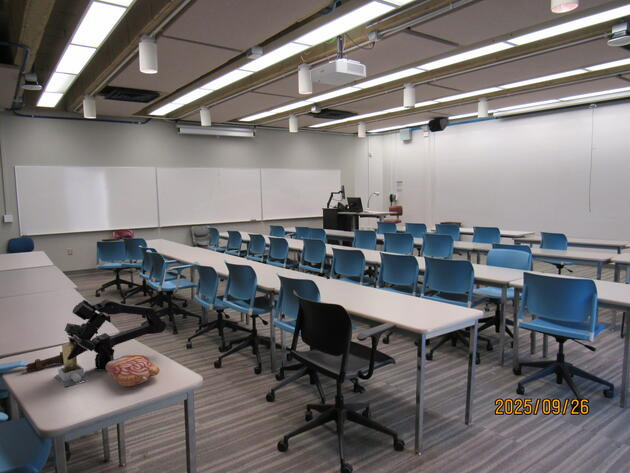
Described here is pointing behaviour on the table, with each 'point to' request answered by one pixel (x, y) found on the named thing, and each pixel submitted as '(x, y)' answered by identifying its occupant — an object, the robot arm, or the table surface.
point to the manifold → (72, 376)
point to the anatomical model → (131, 369)
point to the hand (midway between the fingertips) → (66, 357)
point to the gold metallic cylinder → (68, 364)
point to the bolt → (45, 362)
